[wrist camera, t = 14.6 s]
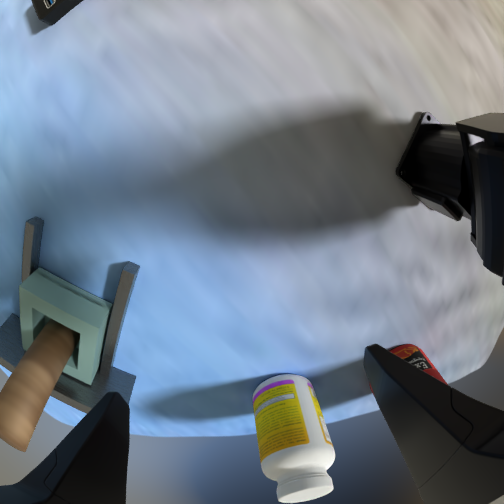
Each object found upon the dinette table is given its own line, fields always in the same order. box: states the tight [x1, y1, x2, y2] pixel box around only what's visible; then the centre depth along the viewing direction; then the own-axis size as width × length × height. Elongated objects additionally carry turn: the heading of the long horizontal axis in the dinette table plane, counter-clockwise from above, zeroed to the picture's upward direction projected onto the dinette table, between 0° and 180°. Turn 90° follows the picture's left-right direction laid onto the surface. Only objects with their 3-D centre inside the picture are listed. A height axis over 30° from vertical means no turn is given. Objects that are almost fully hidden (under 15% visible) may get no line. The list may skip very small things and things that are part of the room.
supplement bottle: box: [252, 374, 335, 503], centre depth 22 cm, size 7×7×13 cm
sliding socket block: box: [19, 267, 113, 385], centre depth 20 cm, size 8×8×4 cm
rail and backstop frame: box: [0, 217, 140, 414], centre depth 19 cm, size 14×16×6 cm
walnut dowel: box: [0, 319, 80, 452], centre depth 15 cm, size 4×4×13 cm
